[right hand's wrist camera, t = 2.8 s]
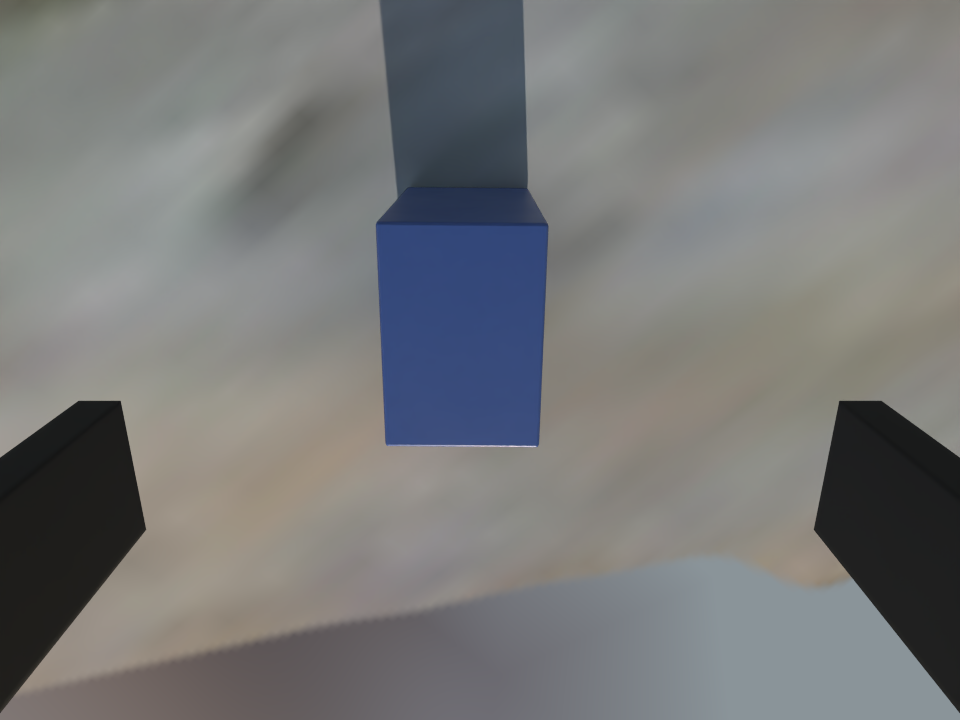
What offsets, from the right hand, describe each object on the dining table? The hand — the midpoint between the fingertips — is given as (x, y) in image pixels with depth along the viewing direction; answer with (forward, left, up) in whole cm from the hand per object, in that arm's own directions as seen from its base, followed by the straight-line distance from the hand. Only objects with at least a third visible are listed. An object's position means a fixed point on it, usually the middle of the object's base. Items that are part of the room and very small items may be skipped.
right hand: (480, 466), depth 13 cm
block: (0, 0, -16) cm, 16 cm away
